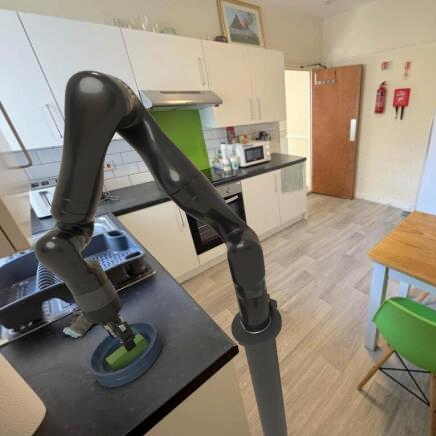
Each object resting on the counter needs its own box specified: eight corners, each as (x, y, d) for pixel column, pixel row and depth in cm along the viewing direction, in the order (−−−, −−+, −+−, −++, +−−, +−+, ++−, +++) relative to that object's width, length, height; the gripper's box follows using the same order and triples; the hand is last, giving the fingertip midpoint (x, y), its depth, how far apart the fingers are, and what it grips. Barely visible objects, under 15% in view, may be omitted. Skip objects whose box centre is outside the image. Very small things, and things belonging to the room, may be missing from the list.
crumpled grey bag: (54, 333, 79) (50, 326, 71) (73, 312, 83) (71, 304, 75) (84, 344, 81) (83, 340, 73) (100, 324, 86) (101, 318, 78)
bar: (142, 341, 73) (138, 333, 71) (148, 346, 71) (144, 337, 69) (111, 367, 66) (105, 358, 64) (116, 373, 64) (110, 364, 63)
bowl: (143, 325, 79) (137, 314, 76) (173, 347, 71) (168, 335, 69) (86, 369, 66) (77, 356, 64) (115, 401, 59) (106, 388, 56)
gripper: (129, 298, 58) (151, 341, 65) (101, 280, 65) (124, 322, 72) (94, 321, 52) (122, 366, 60) (68, 299, 59) (96, 342, 66)
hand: (123, 341), depth 66 cm, fingers open, 8 cm apart
